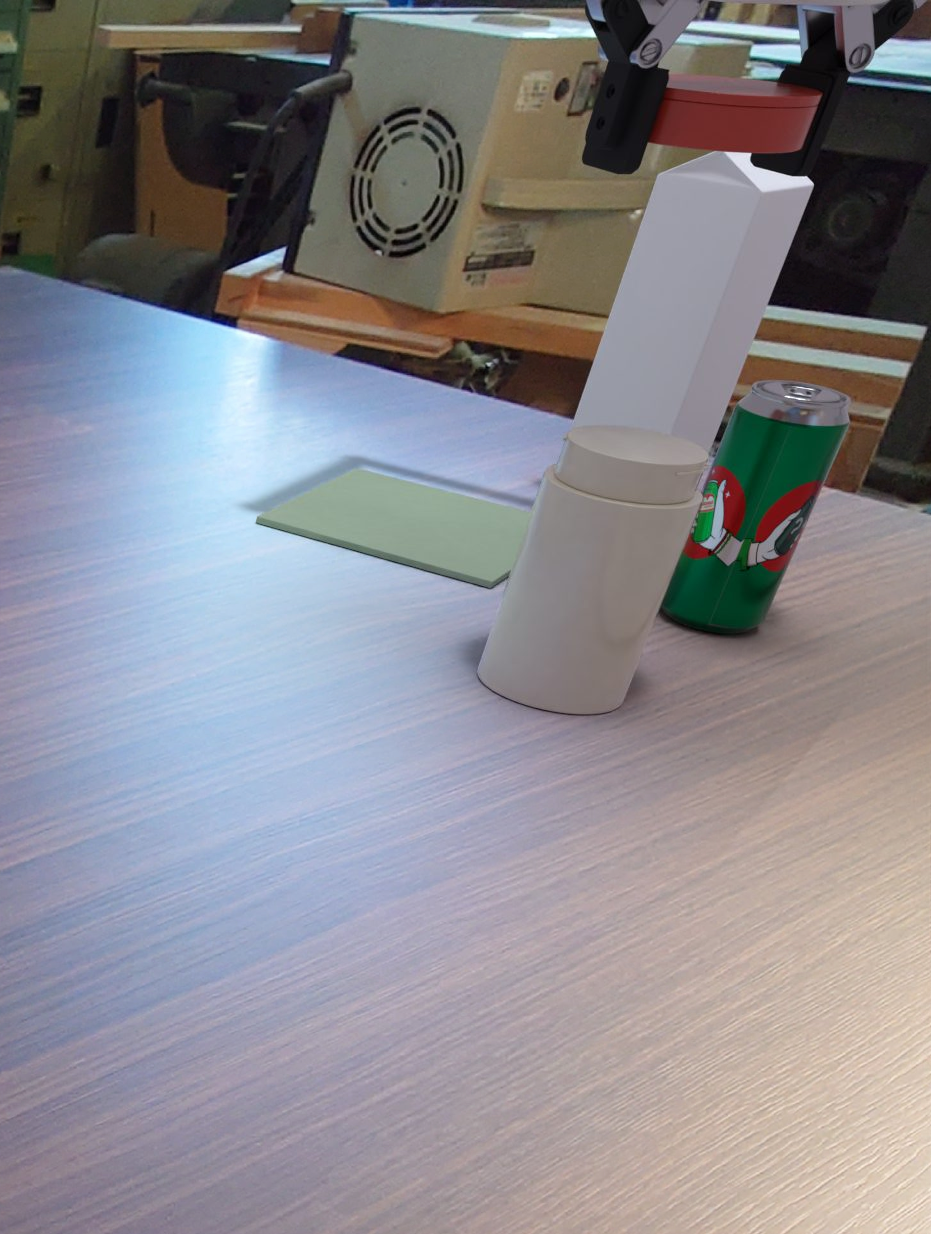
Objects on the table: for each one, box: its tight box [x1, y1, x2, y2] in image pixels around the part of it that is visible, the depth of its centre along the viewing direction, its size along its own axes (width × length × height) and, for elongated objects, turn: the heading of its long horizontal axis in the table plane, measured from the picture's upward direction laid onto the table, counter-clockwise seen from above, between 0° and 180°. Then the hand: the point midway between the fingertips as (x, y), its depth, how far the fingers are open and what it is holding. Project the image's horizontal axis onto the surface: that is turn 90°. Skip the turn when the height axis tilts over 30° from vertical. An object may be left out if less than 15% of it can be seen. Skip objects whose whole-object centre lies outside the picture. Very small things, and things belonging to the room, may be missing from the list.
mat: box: [255, 467, 531, 589], centre depth 101 cm, size 14×14×1 cm
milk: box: [569, 151, 815, 455], centre depth 100 cm, size 6×6×22 cm
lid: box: [648, 73, 822, 153], centre depth 72 cm, size 7×7×2 cm
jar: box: [476, 425, 710, 715], centre depth 79 cm, size 7×7×12 cm
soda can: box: [661, 379, 852, 635], centre depth 87 cm, size 5×5×12 cm
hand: (694, 167), depth 73 cm, fingers closed on lid, 7 cm apart
